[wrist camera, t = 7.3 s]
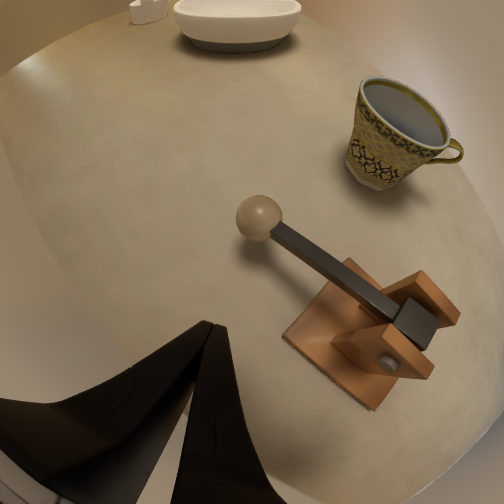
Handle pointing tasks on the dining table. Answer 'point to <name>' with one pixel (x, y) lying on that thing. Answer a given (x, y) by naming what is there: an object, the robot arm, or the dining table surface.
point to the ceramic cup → (394, 133)
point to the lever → (335, 270)
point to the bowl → (236, 23)
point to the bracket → (366, 336)
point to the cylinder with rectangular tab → (147, 11)
